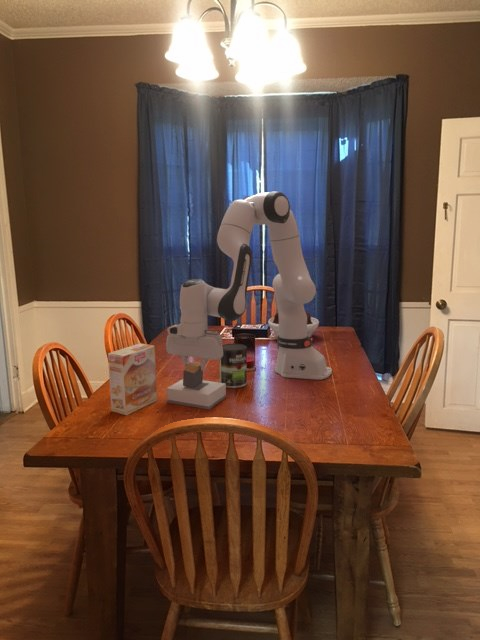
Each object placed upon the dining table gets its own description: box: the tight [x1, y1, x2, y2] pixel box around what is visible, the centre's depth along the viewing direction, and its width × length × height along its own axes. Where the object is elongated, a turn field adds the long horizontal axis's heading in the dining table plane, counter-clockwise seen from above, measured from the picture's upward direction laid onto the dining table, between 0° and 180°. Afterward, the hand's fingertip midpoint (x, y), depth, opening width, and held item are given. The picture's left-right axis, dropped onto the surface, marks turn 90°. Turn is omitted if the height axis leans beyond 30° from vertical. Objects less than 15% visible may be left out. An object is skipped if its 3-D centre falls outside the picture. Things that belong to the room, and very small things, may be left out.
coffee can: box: [218, 343, 248, 389], centre depth 187 cm, size 10×10×14 cm
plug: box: [182, 360, 204, 389], centre depth 170 cm, size 4×6×7 cm, turn 154°
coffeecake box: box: [107, 342, 158, 416], centre depth 165 cm, size 15×7×20 cm, turn 148°
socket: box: [166, 378, 227, 410], centre depth 172 cm, size 16×12×5 cm
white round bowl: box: [267, 312, 320, 339], centre depth 251 cm, size 25×25×15 cm
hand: (194, 369), depth 170 cm, fingers closed on plug, 4 cm apart
